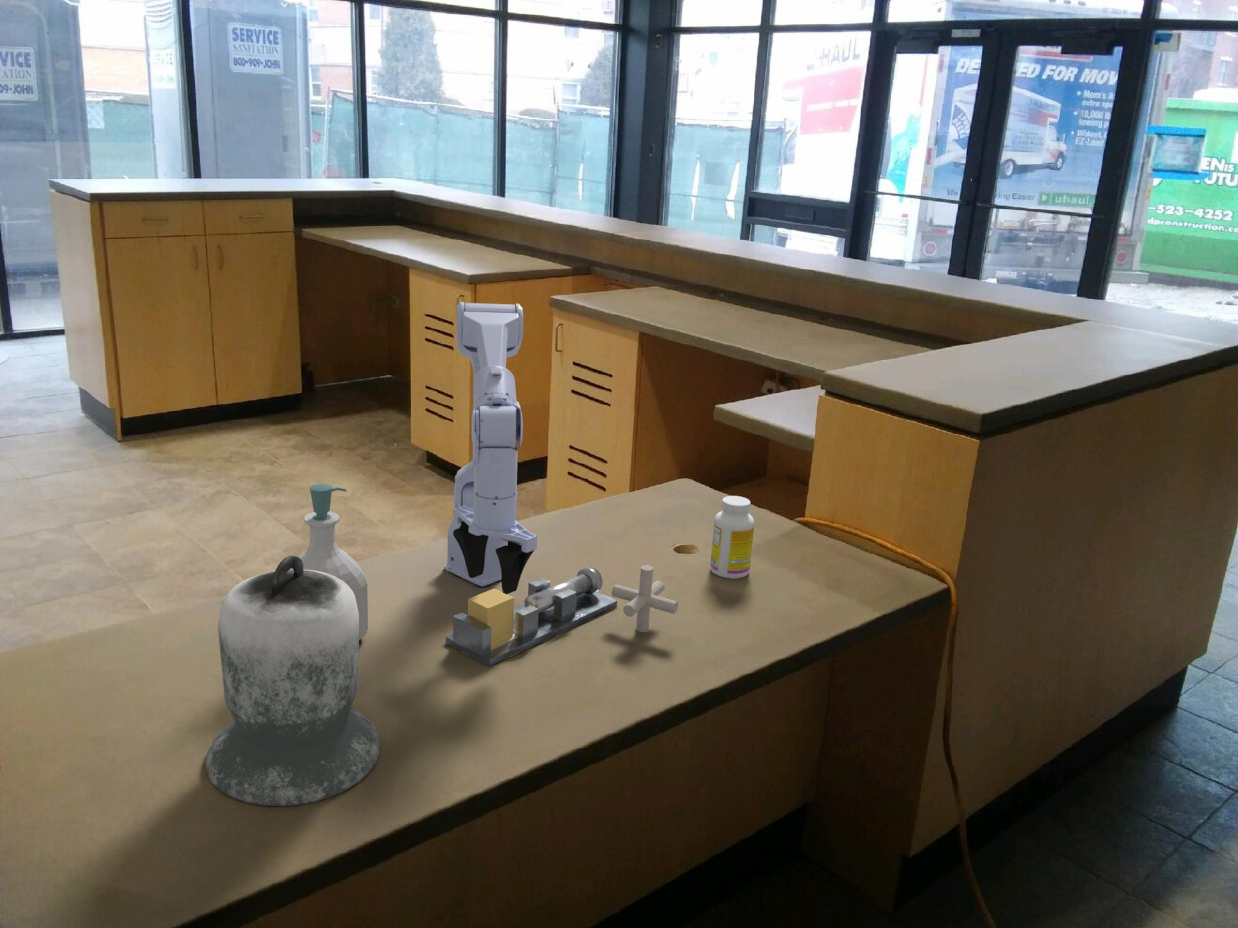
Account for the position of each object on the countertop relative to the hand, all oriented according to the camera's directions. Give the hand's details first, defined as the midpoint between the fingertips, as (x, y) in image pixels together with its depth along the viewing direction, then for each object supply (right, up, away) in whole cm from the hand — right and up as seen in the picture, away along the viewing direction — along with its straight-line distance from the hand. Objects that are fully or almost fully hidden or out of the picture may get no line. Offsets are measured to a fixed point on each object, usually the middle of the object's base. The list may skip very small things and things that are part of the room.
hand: (492, 583), depth 149 cm
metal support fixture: (+5, -7, +10) cm, 13 cm away
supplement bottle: (+36, -2, +32) cm, 48 cm away
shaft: (+9, -5, +13) cm, 17 cm away
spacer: (-1, -8, +2) cm, 8 cm away
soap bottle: (-24, -8, +2) cm, 25 cm away
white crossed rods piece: (+21, -8, +10) cm, 25 cm away
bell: (-20, -17, -25) cm, 36 cm away
